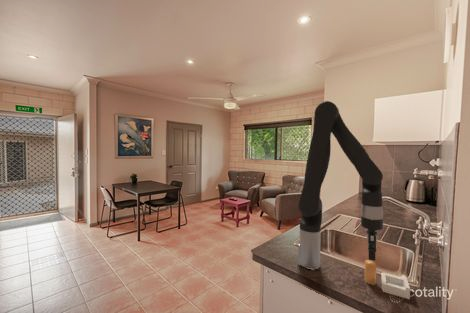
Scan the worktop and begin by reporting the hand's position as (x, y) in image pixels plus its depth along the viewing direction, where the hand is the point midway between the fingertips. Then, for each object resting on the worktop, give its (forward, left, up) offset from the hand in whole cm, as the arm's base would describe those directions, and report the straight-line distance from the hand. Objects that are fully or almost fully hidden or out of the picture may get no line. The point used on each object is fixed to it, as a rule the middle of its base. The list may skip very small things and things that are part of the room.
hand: (371, 255), depth 86 cm
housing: (+8, 0, -11) cm, 13 cm away
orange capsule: (0, 0, -11) cm, 11 cm away
